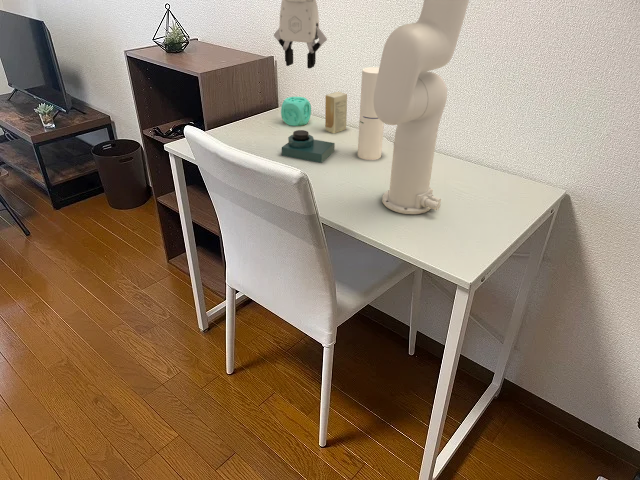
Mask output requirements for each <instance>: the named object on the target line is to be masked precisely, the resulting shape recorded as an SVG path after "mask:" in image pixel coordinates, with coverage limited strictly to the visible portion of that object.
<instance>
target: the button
mask: <svg viewBox="0 0 640 480" xmlns="http://www.w3.org/2000/svg"><path fill="white" fill-rule="evenodd" d="M292 135H293V140H295V141H306V140H309V135H310V134H309V131H308V130H304V129H298V130H294V131H293V132H292Z"/></svg>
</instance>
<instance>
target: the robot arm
mask: <svg viewBox="0 0 640 480" xmlns="http://www.w3.org/2000/svg"><path fill="white" fill-rule="evenodd" d="M469 2H470V0H423V3H422V8H421V11H420V15H419V17H418V20H417V21H415V22H411V23H406V24H403V25H400V26H398V27H397V28H395V29H393V31H391V33H390V34H389V36H388V37H387V39H386V41H385V43H384V46H383V48H382V53H381V58H380V62H379V66H378V67H379V72H378V76H377V81H376V86H375V91H374V109H375V113H376V115H377V117H378V118H379V119H380V120H381V121H382V122H383V123H384V125H388V126H396V127H395V133H394V141H393V151H392V161H391V171H390V181H389V190H387V191H385V192H384V193H383V195H382V200H381V201H382V203H383V205H384V206H385V208H387V209H389V210H390V211H392V212H395V213H399V214H404V215H419V214H424V213H427V212H429V211H430V210H435V211H439V209H440V208H441V202H442V199H441V198H440V197H437V196H434V195H433V191H434V188H432V187H430V185H431V178H432V171H433V166H434V165H433V163H434V156H435V150H436V144H437V139H438V138H437V137H438V133H439V127H440V123H441V119H442V116H443V114H444V110H445V107H446V104H447V97H448V89H447V84H446V82H445V81H444V79H443V77H442V76H440V75H439V74H437V73H435V72H433V70H437V69H441V68H443V67H445V66H446V65H448V64H449V63H450V62H451V60H452V58H453V56H454V53H455V49H456V47H457V44H458V40H459V37H460V33H461V30H462V27H463V23H464V20H465V16H466V14H467V9H468V6H469ZM317 3H318V2H317V0H281V3H280V11H279V25H278V26H279V27H278V29H277V30H276V31H275V32H274V33H273V37H274V38H275V39H276V40H277V41H278V43H279V45H280V46H281V48H282V50H283V51H284V62H285V66H286V67H289V66H292V65H293V64H294V48H292V46H293V43H294V42H295V43H305V44H306V46H307V49H308V52H307V55H306V56H307V58H306V59H307V60H306V62H307V63H306V64H307V67H306V68H307V69H312V68H314V67H315V65H316V54H317V51H318V50H319V49H320V48H321V47H322V46H323V45H324V44H325V43H326V42H327V40H328V39H327V36H326V35H325V34H324V32H323V31H322V30H321V28H320V17H319V9H318V4H317ZM317 40H318V41H317ZM316 41H317V42H316Z"/></svg>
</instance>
